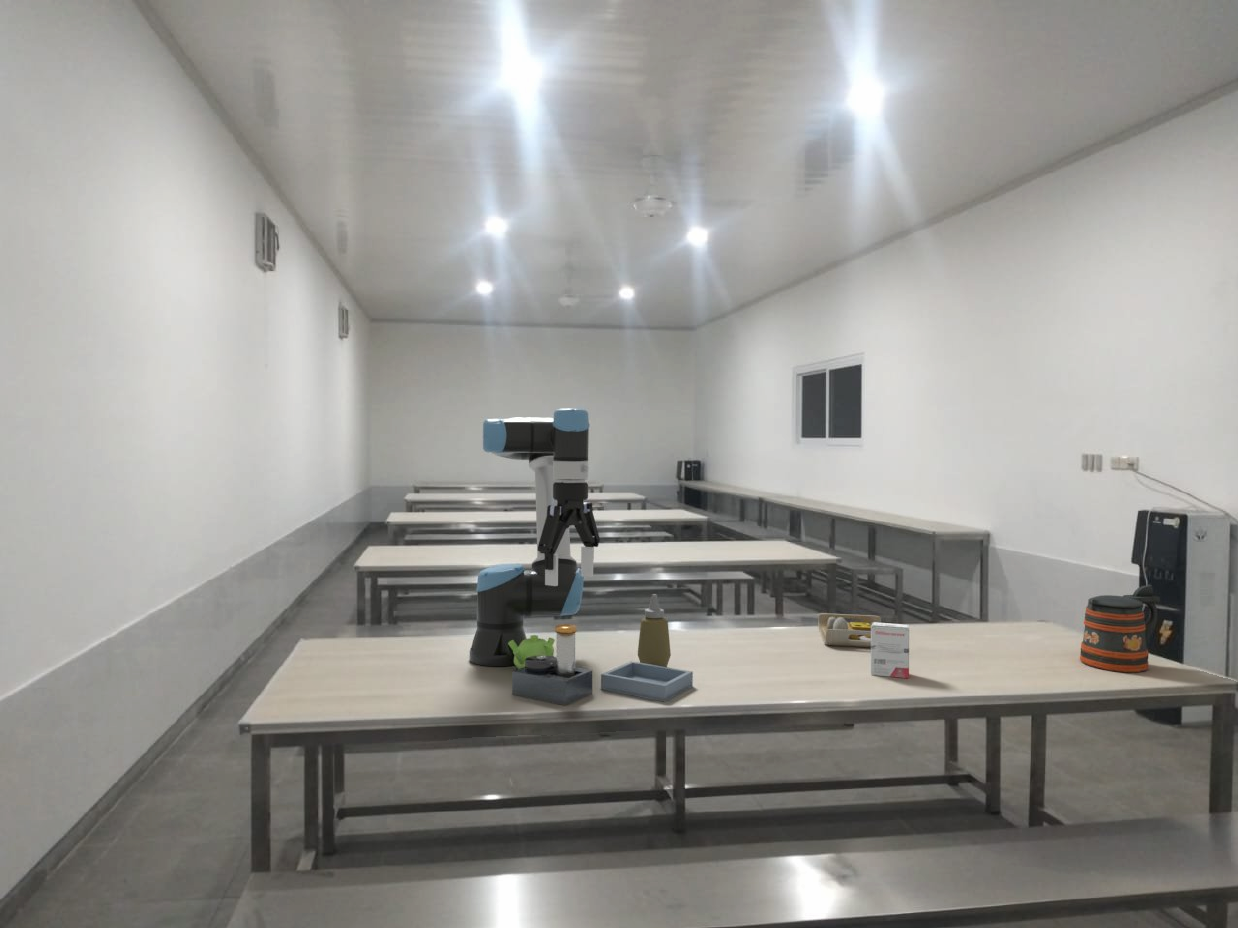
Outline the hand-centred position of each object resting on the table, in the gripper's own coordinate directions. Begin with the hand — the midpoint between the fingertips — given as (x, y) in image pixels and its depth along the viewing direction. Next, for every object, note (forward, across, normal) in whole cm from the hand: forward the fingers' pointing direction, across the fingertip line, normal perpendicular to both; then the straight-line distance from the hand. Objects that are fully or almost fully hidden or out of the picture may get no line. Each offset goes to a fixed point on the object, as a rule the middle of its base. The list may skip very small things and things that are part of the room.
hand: (569, 580), depth 170 cm
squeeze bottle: (+25, +28, -6) cm, 38 cm away
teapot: (+25, +12, +19) cm, 33 cm away
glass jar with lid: (+25, -1, 0) cm, 25 cm away
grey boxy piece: (+25, -1, +4) cm, 25 cm away
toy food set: (+25, +86, -39) cm, 98 cm away
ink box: (+25, +54, -55) cm, 81 cm away
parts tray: (+25, +14, -11) cm, 31 cm away
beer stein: (+25, +94, -103) cm, 142 cm away
